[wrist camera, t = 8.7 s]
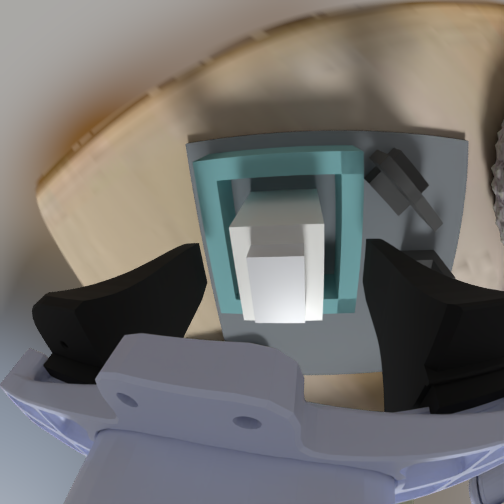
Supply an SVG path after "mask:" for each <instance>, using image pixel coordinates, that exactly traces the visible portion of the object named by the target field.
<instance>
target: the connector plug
mask: <svg viewBox="0 0 504 504" xmlns="http://www.w3.org/2000/svg"><path fill="white" fill-rule="evenodd" d="M229 232H230V238H231V244H232V251H233V257H234V263H235V269H236V275H237V281H238V287H239V293H240V299H241V305H242V311H243V317H244V320H255V323H305V321H313V320H322V316H323V292H324V221H323V216H322V211H321V206H320V202H319V197H318V193H317V189H292V190H272V191H256V192H250V194H249V195H248V197H247V199H246V200H245V202H244V204H243V205H242V207H241V208H240V210H239V212H238V213H237V215H236V217H235V218H234V220H233V221H232V223H231V225H230V226H229Z"/></svg>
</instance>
